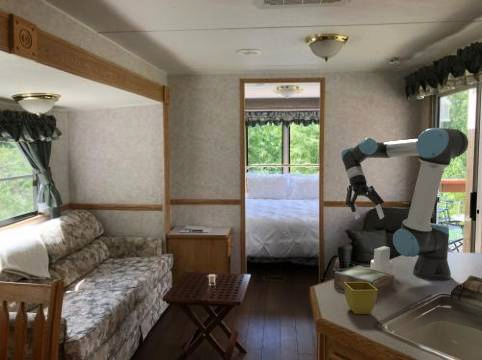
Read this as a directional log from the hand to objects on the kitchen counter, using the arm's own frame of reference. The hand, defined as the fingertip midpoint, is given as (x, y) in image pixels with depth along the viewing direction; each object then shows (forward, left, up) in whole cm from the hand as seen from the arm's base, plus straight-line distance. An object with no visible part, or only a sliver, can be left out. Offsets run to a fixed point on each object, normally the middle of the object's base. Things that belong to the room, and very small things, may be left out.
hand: (370, 218), depth 194 cm
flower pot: (-25, +50, -24) cm, 60 cm away
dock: (-13, +26, -23) cm, 37 cm away
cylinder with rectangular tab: (-10, +6, -24) cm, 26 cm away
